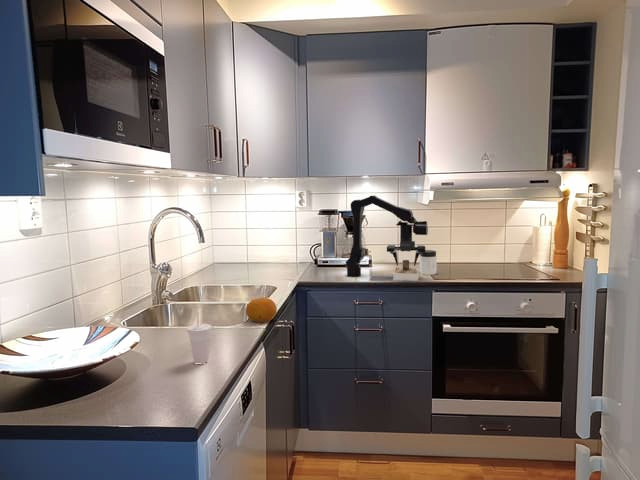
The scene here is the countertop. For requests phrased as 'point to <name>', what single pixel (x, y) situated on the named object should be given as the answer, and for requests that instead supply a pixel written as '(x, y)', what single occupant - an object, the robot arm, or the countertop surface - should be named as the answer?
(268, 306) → the fruit
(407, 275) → the dish
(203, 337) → the smoothie
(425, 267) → the jar
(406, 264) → the lid
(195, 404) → the countertop surface
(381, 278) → the mat
